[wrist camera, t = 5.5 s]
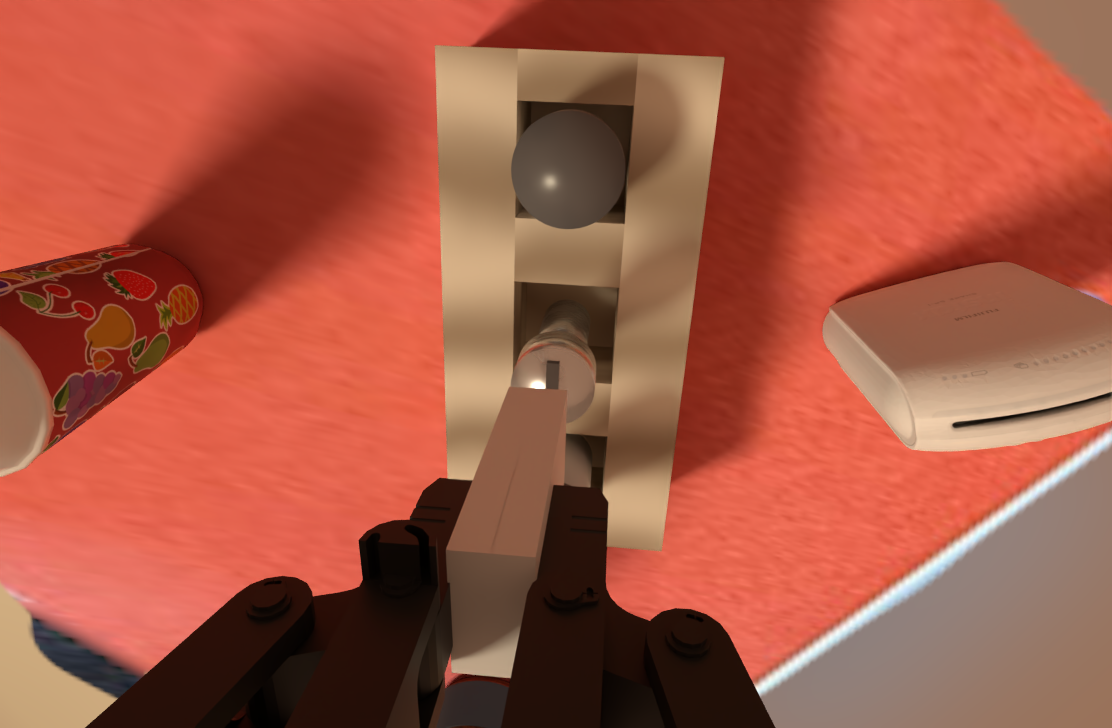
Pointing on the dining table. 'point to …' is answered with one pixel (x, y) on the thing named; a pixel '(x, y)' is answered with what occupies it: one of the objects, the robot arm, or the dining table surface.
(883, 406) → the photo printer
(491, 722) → the mug
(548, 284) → the tan rectangular block
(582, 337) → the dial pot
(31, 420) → the smoothie
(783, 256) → the dining table surface
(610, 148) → the knob
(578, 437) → the knob
